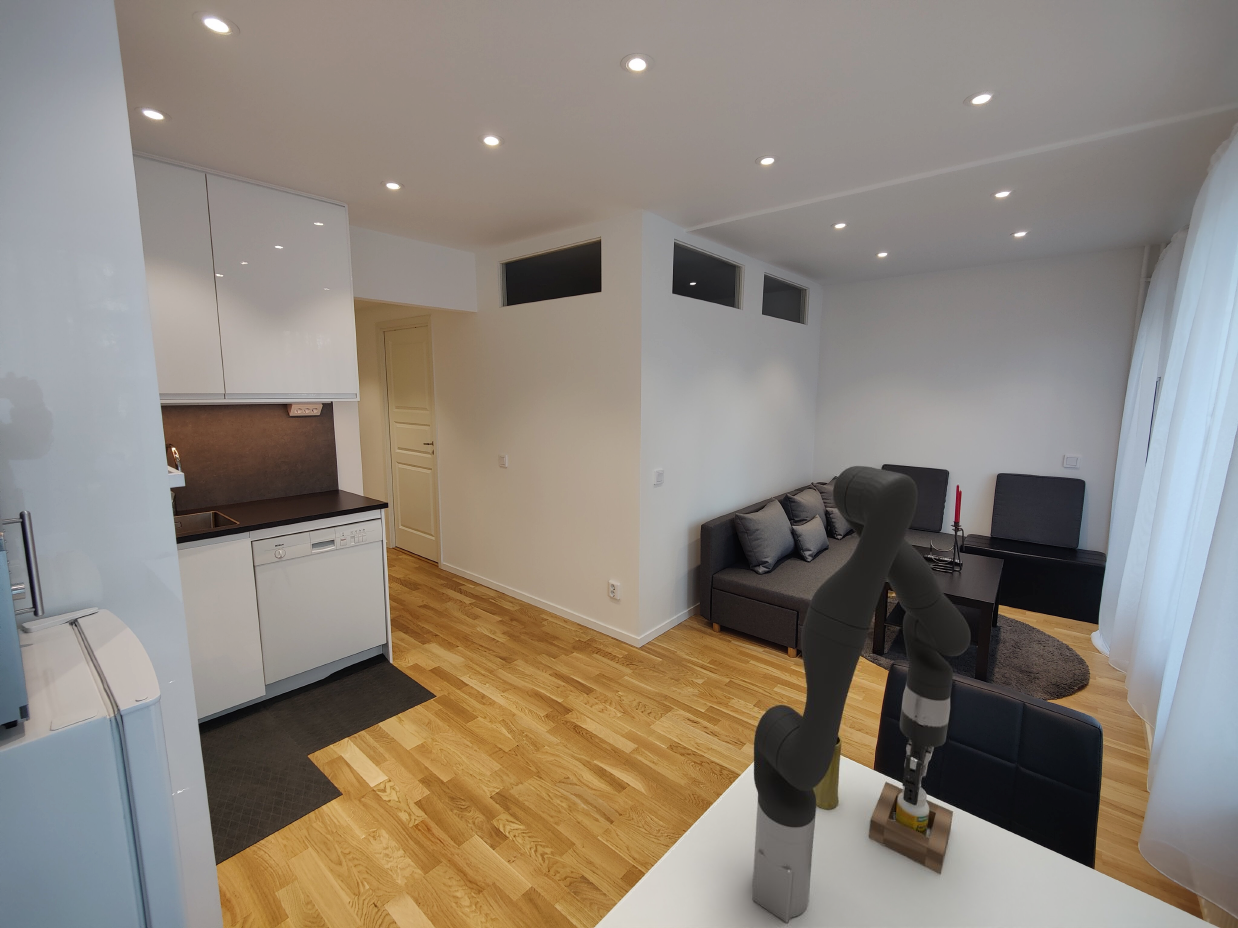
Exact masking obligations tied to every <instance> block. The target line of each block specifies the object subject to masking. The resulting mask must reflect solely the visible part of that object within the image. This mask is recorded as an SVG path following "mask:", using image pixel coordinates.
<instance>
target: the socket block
mask: <svg viewBox="0 0 1238 928" xmlns="http://www.w3.org/2000/svg"><path fill="white" fill-rule="evenodd" d="M902 790H903V788H901V787H899V786H897V785H895V784H892V783H890V782H888V781H885V783H884V785H883V787H882V790H881V793H880V795H879V797H878V799H877V803H876V805H875V807H874V810H873V811H872V815H871V816H870V821H869V830H868V838H870V839H872V840H873V841H875V842H877V843H879V844H882V845H883V846H885V847H887V848H889V849H891V850H893V851H895V852H897V853H899V854H900V855H903V856H905V857H907V858H908V859H911V860H912V861H914V862H917V863H919V864H920V865H921V866H925V868H928V869H930V870H932V871H934V872H935V873H938V874H939V875H941V874H942V871H943V870H942V869H943V865H944V861H945V857H946V852H947V847H948V843H949V839H950V834H951V830H952V829H951V828H952V822H953V815H954V814H953V813H954V811H952V810H951V809H948V808H946V807H944V806H942V805H939V804H937V803H936V802H935V803H934V802H932V801H931V800H928V799H926V802H927V803H928V806H929V817H928V825H927V829H929V830H931V831H930V835H929V836H927V835H926V836H925V835H923V834H921V833H919V832H917V831H915V830H913V829H911V828H909V827H906V826H904V825H902V824H900V823H898V822H896V821H895V819H894V820H893V817H894V814H896V809H897V800H898V796H899V794H900V793H902Z"/></svg>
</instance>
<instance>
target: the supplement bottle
mask: <svg viewBox="0 0 1238 928" xmlns="http://www.w3.org/2000/svg"><path fill="white" fill-rule="evenodd" d="M902 789H903V790H902V793H900V794H899V796H898V800H897V809H896V813H895V818H894V821H896V822H898V823H900V824H902V825H904V826H906V827H909V828H911V829H913V830H915V831H917V832H919V833H921V834H923V835H925V836H927V830H928V828H927V825H928V817H929V806H928V803H927V802H926V800H928V799H927V798H928V797H927V792H926V791H925V789H923V787H921V788H919V794H918V802H917V805H912V804H910V803H908V802H906V801H905V800H904V799H903V797H904V789H905V786H902Z"/></svg>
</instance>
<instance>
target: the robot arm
mask: <svg viewBox="0 0 1238 928" xmlns="http://www.w3.org/2000/svg"><path fill="white" fill-rule="evenodd" d="M918 493H919V492H918V488H917V485H916V482H915V481H914V480H913V479H912V477H910V476H909V475H907V474H904V473H900V472H896V471H891V470H886V469H881V468H877V467H876V468H875V467H871V466H865V465H864V466H863V465H854V466H850V467H848V468H846V469H844V470H843V471H841V473H840V474H839V475H838V476H837V478H836V479H835V481H834V485H833V489H832V498H833V503H834V505H835V508H836V510H837V511H838V513H839V514H840V515H841V516H842V518H843V519H844V520H845V522H846V523H847V524H848V525H849V527H850V528H851V529H852V530H853V532H854V533H855V534H856V536H857V537H858V538H859V539H858V543H857V544H856V547H855V549H854V550H853V553H852V554H851V556H850V557H849V558H848V560H847V561H846V562H845V563H844V564H843V565H842V566H841V567H840V568H838V570H836V571H835V572H834V573H833V574H832V575H830V576H829V577H828V578H827V579H826V580H825V581H824V582H823V583H821V585H820V586H819V587H818V588H817V589H816V591H815V592H814V594H813V595H812V598H811V600H810V602H809V605H808V609H807V612H806V615H805V618H804V621H803V624H802V628H801V631H800V633H801V634H800V646H801V647H800V648H801V654H802V661H803V668H804V674H805V682H806V698H805V707H804V709H803V710H804V711H803V714H800V713H799V712H798V711H797V710H796V709H794V708H793V707H791V706H788V705H785V704H778V705H777V704H776V705H774V706H771V707H770V708H768V709H767V710H766V711H765V712H764V713H763V715H762V716H761V717H760V718H759V721H758V723H757V725H756V728H755V733H754V737H753V739H754V741H753V780H754V786H755V788H756V792H757V807H756V809H757V810H756V821H755V822H756V823H755V836H754V838H755V839H754V853H753V854H754V856H753V875H752V900H753V901H754V902H755V903H756V904H757V905H760V906H761V907H763V908H764V909H765V910H767V911H768V912H770V913H771V914H773V915H775V916H776V917H777V918H779V919H780V920H782V921H783V922H785V923H789V922H790V920H791V918H795V917H798V916H800V915H802V914H803V913H804V912H805V911H806V910H807V907H808V906H809V901H810V899H809V898H810V887H811V876H812V875H811V873H812V862H813V850H814V849H813V848H814V837H815V836H814V835H815V826H816V825H815V824H816V813H817V812H816V811H817V806H816V796H815V792H814V790H813V788H814V787H816V786H817V785H818V784H819V783H820V782H821V781H822V779H823V778H824V777H825V775H826V773H827V771H828V769H829V767H830V764H831V761H832V758H833V755H834V751H835V747H836V742H837V738H838V735H839V733H840V728H841V723H842V718H843V714H844V711H845V710H844V709H845V704H846V701H847V697H848V695H849V692H850V687H851V685H852V681H853V678H854V675H855V672H856V668H857V666H858V663H859V660H860V658H861V655H862V653H863V649H864V647H865V644H866V641H867V638H868V636H869V632H870V628H871V625H872V622H873V619H874V614H875V611H876V608H877V606H878V602H879V599H880V598H881V594H882V592H883V589H884V586H885V583H886V582H887V581H888V584H889V585H890V588H891V589H892V590H893V593H894V595H895V597H896V599H897V601H898V603H899V605H900V606H901V608H902V609H903V610H904V611H905V614H904V616H903V621H902V634H903V639H904V645H905V652H906V657H907V661H908V666H907V667H908V668H907V673H906V682H905V688H904V691H903V694H902V701H901V702H902V703H901V711H900V719H899V729H900V731H901V733H902V734H903V735H904V736H905V737H906V738H907V739H908V742H907V743H906V748H905V750H906V755H905V761H904V764H903V765H904V771H903V779H902V780H901V784H902V787H903V786H905V789H904V797H903V799H904V800H905V801H906V802H908V803H910V804H912V805H917V802H918V794H919V788H922V779H925V778H926V777H927V771H928V764H929V762H930V761H931V758H932V755H933V752H934V748H937V747H940V746H943V745H944V744H945V743H946V740H947V734H948V733H947V732H948V725H949V719H950V712H951V693H952V687H953V685H952V684H953V679H954V673H953V672H954V670H953V667H952V665H950V663H949V662H948V661H947V660H946V659H945V658H944V657H943V656H947V657H958V656H960V655H962V654H964V653H965V652H966V651H967V650H968V648H969V646H970V644H971V640H972V639H971V629H970V627H969V624H968V622H967V620H966V619H965V617H964V616H963V615H962V613H961V612H960V611H959V610H958V608H956V605H954V604H953V602H951V600H950V599H949V598H948V597H947V596H946V595H945V593H943V591H942V589H941V586H940V583H939V582H938V580H937V577H936V575H935V572H934V571H933V569H932V567H931V566H930V565H929V564H928V562H927V560H926V559H925V558H924V557H923V555H921V553H920V551H918V550H917V549H916V548H915V547H914V546H913V545H912V544H911V543H910V542H909V541H908V540H907V539H906V538H905V537H906V536H907V535H906V534H907V533H908V530H909V528H910V526H911V524H912V521H913V519H914V516H915V512H916V510H917V505H918V497H919V495H918ZM886 580H887V581H886ZM940 654H941V655H940ZM942 655H943V656H942Z"/></svg>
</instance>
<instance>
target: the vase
mask: <svg viewBox="0 0 1238 928" xmlns="http://www.w3.org/2000/svg"><path fill="white" fill-rule="evenodd" d="M842 742H843V741H842V738H841V736H840V735H839V734H838V738H837V742H836V747H835V751H834V755H833V758H832V761H831V764H830V767H829V769H828V771H827V773H826V775H825V777H824V778H823V779H822V781H821V782H820V783H819V784H818V785H817V786H816V787H814V788H813V790H814V792H815V796H816V807H818V808H821V809H826V810H832V809H835V808H836V807H837V806H838V805H839V802H840V801H839V784H840V783H839V782H840V765H841V764H840V763H841V754H842V752H841V751H842Z"/></svg>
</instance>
